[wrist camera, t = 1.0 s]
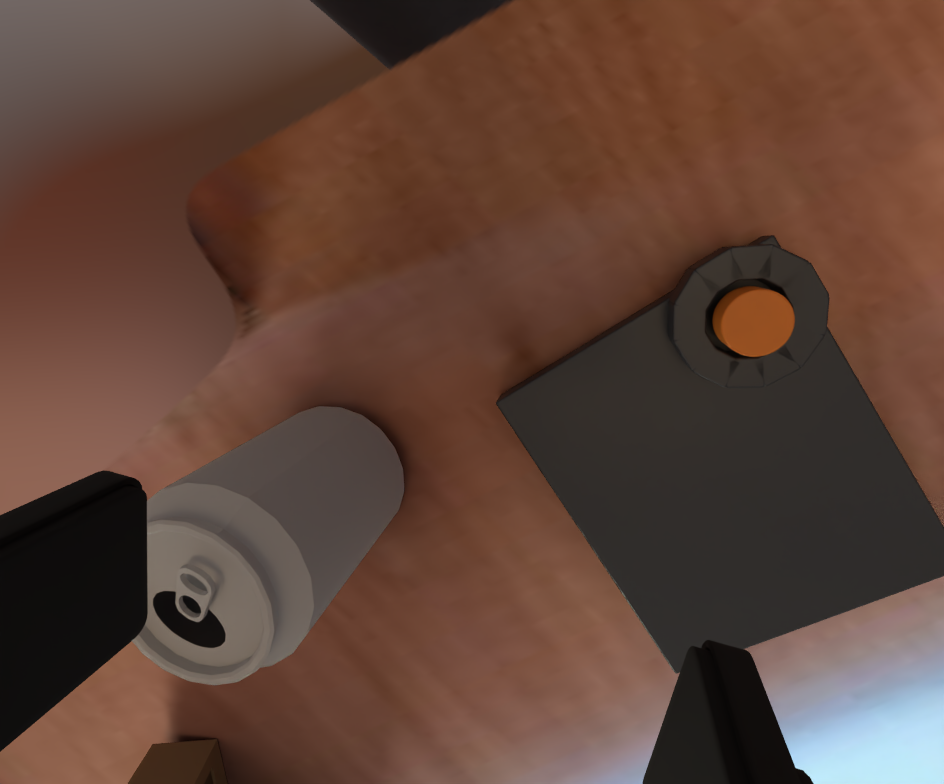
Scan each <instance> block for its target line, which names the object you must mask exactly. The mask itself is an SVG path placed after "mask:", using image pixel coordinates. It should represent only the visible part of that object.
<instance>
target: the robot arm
mask: <svg viewBox="0 0 944 784" xmlns="http://www.w3.org/2000/svg"><path fill="white" fill-rule="evenodd" d="M147 615H148V585H147V496H146V493H145V492H144V491H143V490H142V485H141V484H140V482H139V481H138V480H136V479H135V478H132V477H128V476H124V475H121V474H117V473H114V472H110V471H100V472H97V473H94V474H92V475H90V476H88V477H85V478H84V479H81V480H79V481H77V482H74V483H72V484H70V485H67V486H65V487H63V488H61V489H58V490H56V491H54V492H52V493H50V494H47V495H45V496H43V497H40V498H38V499H36V500H34V501H31V502H29V503H27V504H25V505H23V506H20V507H18V508H16V509H13V510H12V511H9V512H7V513H4V514H2V515H0V751H2V750H3V749H4V748H5V747H6V746H7V745H9V744H10V743H11V742H12V741H13V740H15V739H16V738H17V737H18V736H19V735H21V734H22V733H23V732H24V731H25V730H26V729H28V728H29V727H30V726H31V725H32V724H34V723H35V722H36V721H37V720H38V719H40V718H41V717H42V716H43V715H44V714H45V713H47V712H48V711H49V710H50V709H51V708H53V707H54V706H55V705H56V704H57V703H59V702H60V701H61V700H62V699H63V698H64V697H66V696H67V695H68V694H69V693H70V692H72V691H73V690H74V689H75V688H76V687H78V686H79V685H80V684H81V683H82V682H83V681H85V680H86V679H87V678H88V677H89V676H91V675H92V674H93V673H94V672H95V671H97V670H98V669H99V668H100V667H101V666H102V665H104V664H105V663H106V662H107V661H108V660H110V659H111V658H112V657H113V656H114V655H116V654H117V653H118V652H119V651H120V650H121V649H123V648H124V647H125V646H126V645H127V644H129V643H130V642H131V641H132V640H133V639H135V638H136V637H137V636H138V635H139V633H140V632H141V631H142V629H143V627H144V625H145V623H146V620H147ZM643 784H813V782H812V780H811V778H810V777H809V776H808V775H807V774H806V773H805V772H804V771H803V770H800V769H796V768H795V766H794V763H793V761H792V758H791V755H790V753H789V750H788V748H787V745H786V743H785V740H784V737H783V735H782V732H781V730H780V727H779V725H778V722H777V719H776V717H775V714H774V712H773V709H772V707H771V704H770V701H769V699H768V696H767V694H766V691H765V689H764V686H763V683H762V681H761V678H760V676H759V673H758V671H757V668H756V665H755V663H754V660H753V658H752V656H751V654H750V653H749V652H748V651H746V650H743V649H740V648H736V647H733V646H729V645H726V644H722V643H718V642H715V641H711V640H706V641H705V642H704V643H703V644H702V647H701V648H699V647H695V646H691V647H690V648H689V649H688V651H687V654H686V657H685V660H684V662H683V665H682V668H681V671H680V674H679V677H678V680H677V683H676V686H675V689H674V692H673V694H672V697H671V700H670V703H669V706H668V709H667V712H666V715H665V718H664V721H663V724H662V727H661V729H660V732H659V735H658V738H657V741H656V744H655V747H654V750H653V753H652V756H651V759H650V761H649V764H648V767H647V770H646V773H645V776H644V780H643Z"/></svg>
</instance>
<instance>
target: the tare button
mask: <svg viewBox="0 0 944 784" xmlns="http://www.w3.org/2000/svg"><path fill="white" fill-rule="evenodd" d="M712 324H713V329H714V332H715V334H716V336H717V337H718V339H719V340H720V341H721V342H722V343H724V344H725V345H726V346H728V347H729V348H730V349H732V350H733V351H735V352H736V353H738V354H741V355H744V356H749V357H759V356H764V355H768V354H770V353H773V352H775V351H776V350H778V349H779V348H780V347H782V346H783V345H784V344H785V343H786V342H787V340H788V339H789V337H790V336H791V334H792V332H793V329H794V324H795V315H794V311H793V308H792V306H791V304H790V303H789V301H788V300H787V299H786V298H785V297H784V296H783V295H781V294H780V293H778V292H775V291H773V290H769V289H765V288H761V287H756V286H745V287H740V288H737V289H734V290H732V291H730V292H729V293H727V294H726V295H725V296H724V297H723V298H722V299H721V300H720V301H719V302H718V304H717V306H716V307H715V310H714V313H713V318H712Z"/></svg>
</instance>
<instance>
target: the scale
mask: <svg viewBox="0 0 944 784" xmlns="http://www.w3.org/2000/svg"><path fill="white" fill-rule="evenodd" d="M745 286H756V287H761V288H765V289H769V290H773V291H775V292H778V293H780V294H781V295H783V296H784V297H785V298H786V299H787V300H788V301H789V303H790V304H791V306H792V308H793V311H794V315H795V324H794V329H793V332H792V334H791V336H790V337H789V339H788V340H787V342H786V343H785V344H784V345H783V346H782V347H780V348H779V349H778V350H776V351H775V352H773V353H770V354H768V355H764V356H759V357H749V356H744V355H741V354H738V353H736V352H735V351H733V350H732V349H730V348H729V347H728V346H726V345H725V344H724V343H722V342H721V341H720V340H719V339H718V337H717V336H716V334H715V332H714V329H713V324H712V318H713V313H714V310H715V307H716V306H717V304H718V302H719V301H720V300H721V299H722V298H723V297H724V296H725V295H726V294H727V293H729V292H730V291H732V290H734V289H737V288H740V287H745ZM828 308H829V294H828V292H827V290H826V288H825V287H824V285H823V283H822V282H821V280H820V278H819V276H818V275H817V273H816V271H815V269H814V268H813V266H812V264H811V263H809V262H808V261H807V260H805V259H803V258H801V257H799V256H797V255H795V254H793V253H790V252H788V251H786V250H784V249H782V248H781V247H780V245H779V243H778V241H777V240H776V238H775V236H773V235H771V236H762V237H760V238H758V239H757V240H755V241H753V242H752V243H750V244H748V245H745V246H732V247H722V248H719V249H718V250H716V251H714V252H713V253H711V254H710V255H708V256H706V257H705V258H703V259H701V260H700V261H698V262H697V263H695V264H693V265H692V266H690V267H689V268H688V269H687V270H686V271H685V273H684V275H683V276H682V278H681V280H680V281H679V283H678V285H677V286H676V288H675V289H674V290H673V291H671V292H669V293H668V294H666V295H664V296H663V297H661V298H659V299H658V300H656V301H655V302H653V303H651V304H650V305H648V306H646V307H645V308H643V309H641V310H640V311H638V312H636V313H635V314H633V315H631V316H630V317H628V318H627V319H625V320H623V321H622V322H620V323H618V324H617V325H615V326H613V327H612V328H610V329H608V330H607V331H605V332H603V333H602V334H600V335H599V336H597V337H595V338H594V339H592V340H590V341H589V342H587V343H585V344H584V345H582V346H580V347H579V348H577V349H576V350H574V351H572V352H571V353H569V354H567V355H566V356H564V357H562V358H561V359H559V360H557V361H556V362H554V363H552V364H551V365H549V366H548V367H546V368H544V369H543V370H541V371H539V372H538V373H536V374H534V375H533V376H531V377H529V378H528V379H526V380H524V381H523V382H521V383H520V384H518V385H516V386H515V387H513V388H511V389H510V390H508V391H506V392H505V393H503V394H501V396H500V397H499V399H498V400H497V402H496V405H497V406H498V408H499V409H500V411H501V412H502V414H503V415H504V417H505V418H506V420H507V421H508V423H509V424H510V426H511V427H512V429H513V430H514V432H515V433H516V435H517V436H518V438H519V439H520V441H521V442H522V444H523V445H524V447H525V448H526V450H527V451H528V453H529V454H530V456H531V457H532V459H533V460H534V462H535V463H536V465H537V466H538V468H539V469H540V471H541V472H542V474H543V475H544V477H545V478H546V480H547V481H548V483H549V484H550V486H551V487H552V489H553V490H554V492H555V493H556V495H557V496H558V498H559V499H560V501H561V502H562V504H563V505H564V507H565V508H566V510H567V511H568V513H569V514H570V516H571V517H572V519H573V520H574V522H575V523H576V525H577V526H578V528H579V529H580V531H581V532H582V534H583V535H584V537H585V538H586V540H587V541H588V543H589V544H590V546H591V547H592V549H593V550H594V552H595V553H596V555H597V556H598V558H599V559H600V561H601V563H602V564H603V566H604V567H605V569H606V570H607V572H608V573H609V575H610V576H611V578H612V579H613V581H614V582H615V584H616V585H617V587H618V588H619V590H620V591H621V593H622V594H623V596H624V597H625V599H626V600H627V602H628V603H629V605H630V606H631V608H632V609H633V611H634V612H635V614H636V615H637V617H638V618H639V620H640V621H641V623H642V624H643V626H644V627H645V629H646V630H647V632H648V633H649V635H650V636H651V638H652V639H653V641H654V642H655V644H656V645H657V647H658V648H659V650H660V651H661V653H662V654H663V656H664V657H665V659H666V660H667V662H668V663H669V665H670V666H671V668H672V669H673V671H674V672H675V673H679V672H680V671H681V668H682V665H683V662H684V660H685V657H686V654H687V651H688V649H689V648H690V647H691V646H695V647H699V648H701V647H702V644H703V643H704V642H705V641H706V640H711V641H715V642H718V643H722V644H726V645H729V646H733V647H736V648H740V649H745V648H748V647H750V646H753V645H756V644H759V643H761V642H764V641H767V640H770V639H772V638H775V637H778V636H781V635H783V634H786V633H789V632H791V631H794V630H797V629H800V628H802V627H805V626H808V625H811V624H813V623H816V622H819V621H822V620H824V619H827V618H830V617H833V616H835V615H838V614H841V613H844V612H846V611H849V610H852V609H855V608H857V607H860V606H863V605H866V604H868V603H871V602H874V601H877V600H879V599H882V598H885V597H888V596H890V595H893V594H896V593H899V592H901V591H904V590H907V589H909V588H912V587H915V586H918V585H920V584H923V583H926V582H929V581H931V580H934V579H937V578H940V577H942V576H944V527H943V525H942V523H941V521H940V520H939V518H938V516H937V514H936V513H935V511H934V509H933V508H932V506H931V504H930V502H929V501H928V499H927V497H926V496H925V494H924V492H923V490H922V489H921V487H920V485H919V484H918V482H917V480H916V478H915V477H914V475H913V473H912V472H911V470H910V468H909V466H908V465H907V463H906V461H905V460H904V458H903V456H902V454H901V453H900V451H899V449H898V447H897V446H896V444H895V442H894V441H893V439H892V437H891V435H890V434H889V432H888V430H887V429H886V427H885V425H884V423H883V422H882V420H881V418H880V417H879V415H878V413H877V411H876V410H875V408H874V406H873V405H872V403H871V401H870V399H869V398H868V396H867V394H866V393H865V391H864V389H863V387H862V386H861V384H860V382H859V380H858V379H857V377H856V375H855V374H854V372H853V370H852V368H851V367H850V365H849V363H848V362H847V360H846V358H845V356H844V355H843V353H842V351H841V350H840V348H839V346H838V344H837V343H836V341H835V339H834V338H833V336H832V334H831V332H830V331H829V329H828V327H827V320H828Z"/></svg>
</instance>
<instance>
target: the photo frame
mask: <svg viewBox="0 0 944 784" xmlns="http://www.w3.org/2000/svg"><path fill="white" fill-rule="evenodd" d="M128 784H228V783H227V779H226V775H225V770H224V766H223V762H222V758H221V753H220V749H219V745H218V741H217V739H212V740H199V741H186V742H174V743H161V744H153V745H152V746H151V748H150V749H149V751H148V752H147V754H146V756H145V757H144V759H143V760H142V762H141V763H140V765H139V767H138V768H137V770H136V771H135V773H134V774H133V776H132V778H131V779H130V781H129V782H128Z"/></svg>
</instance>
